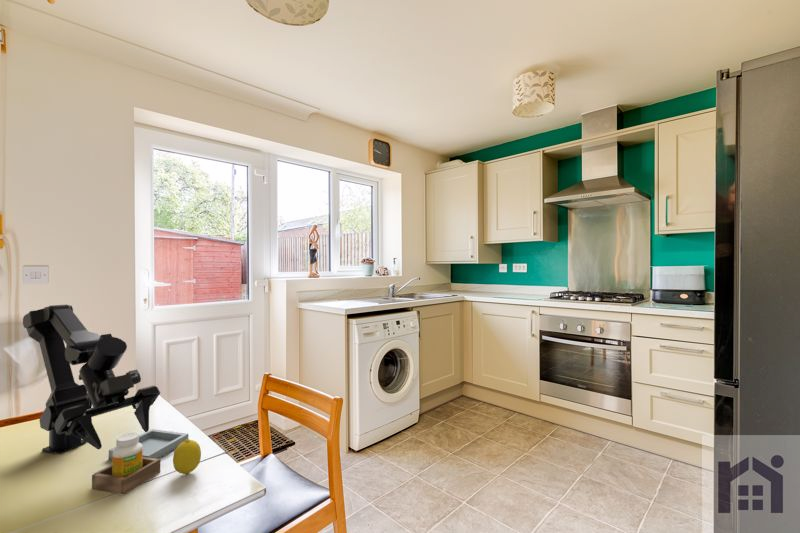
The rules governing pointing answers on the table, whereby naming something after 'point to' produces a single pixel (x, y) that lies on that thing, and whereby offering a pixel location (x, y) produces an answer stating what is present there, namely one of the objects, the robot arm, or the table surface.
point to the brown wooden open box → (124, 485)
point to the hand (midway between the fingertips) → (124, 439)
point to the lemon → (187, 456)
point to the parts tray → (158, 443)
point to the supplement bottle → (127, 455)
